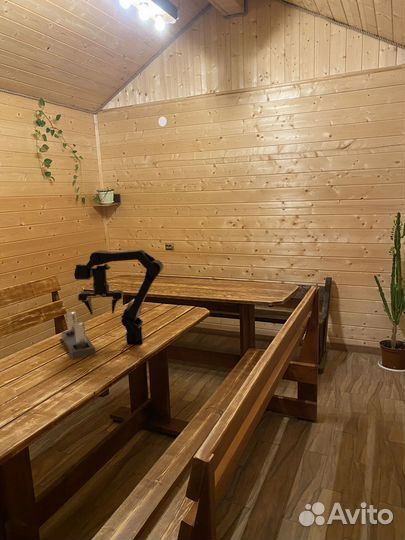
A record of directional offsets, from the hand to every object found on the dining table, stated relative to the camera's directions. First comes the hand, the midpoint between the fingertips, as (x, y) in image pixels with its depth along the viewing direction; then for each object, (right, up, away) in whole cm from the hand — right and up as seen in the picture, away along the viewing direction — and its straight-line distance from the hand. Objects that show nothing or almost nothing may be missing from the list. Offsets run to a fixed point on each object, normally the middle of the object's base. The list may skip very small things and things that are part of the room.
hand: (102, 314), depth 173 cm
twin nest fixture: (-10, -14, -2) cm, 18 cm away
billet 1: (-15, -13, +6) cm, 20 cm away
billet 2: (-6, -15, -9) cm, 19 cm away
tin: (+7, -5, +42) cm, 43 cm away
